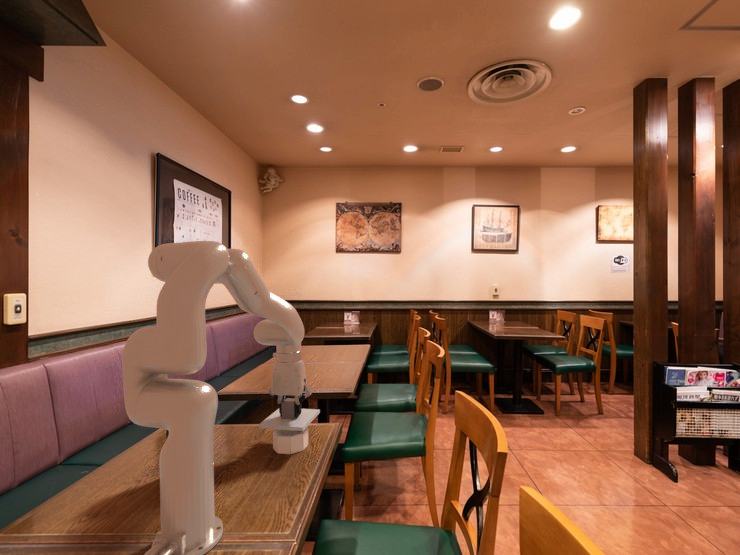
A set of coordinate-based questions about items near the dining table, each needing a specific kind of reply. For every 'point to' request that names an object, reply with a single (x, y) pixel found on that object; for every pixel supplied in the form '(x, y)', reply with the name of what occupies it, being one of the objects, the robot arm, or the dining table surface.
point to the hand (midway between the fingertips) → (290, 415)
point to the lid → (289, 417)
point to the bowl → (290, 441)
